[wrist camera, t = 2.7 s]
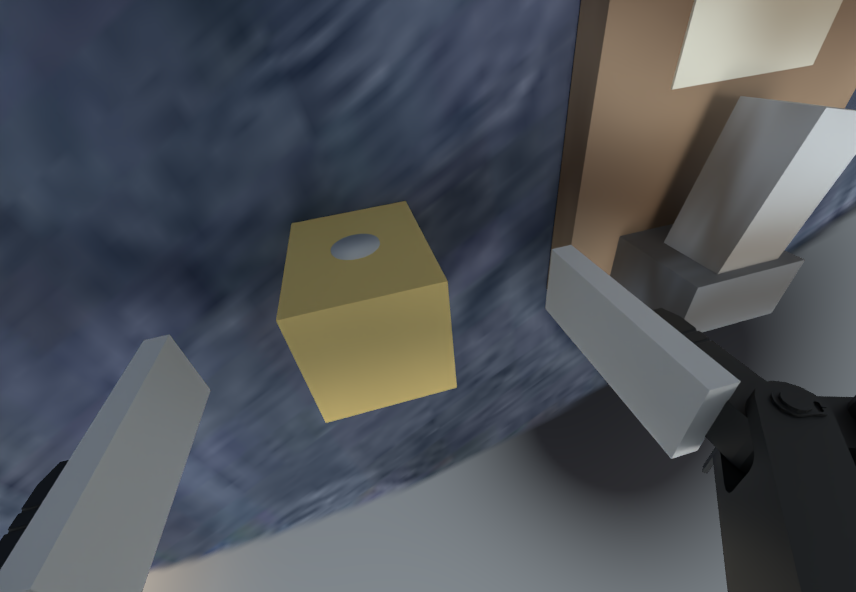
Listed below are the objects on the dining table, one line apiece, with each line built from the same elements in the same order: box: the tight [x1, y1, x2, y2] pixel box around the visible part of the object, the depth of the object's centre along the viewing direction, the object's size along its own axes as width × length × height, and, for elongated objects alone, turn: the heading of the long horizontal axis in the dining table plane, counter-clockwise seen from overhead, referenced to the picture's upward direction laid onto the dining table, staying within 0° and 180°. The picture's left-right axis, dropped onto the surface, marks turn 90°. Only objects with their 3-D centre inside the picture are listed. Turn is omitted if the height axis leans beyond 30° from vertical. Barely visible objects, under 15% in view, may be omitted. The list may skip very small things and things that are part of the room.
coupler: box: [276, 201, 457, 423], centre depth 13 cm, size 5×5×6 cm
